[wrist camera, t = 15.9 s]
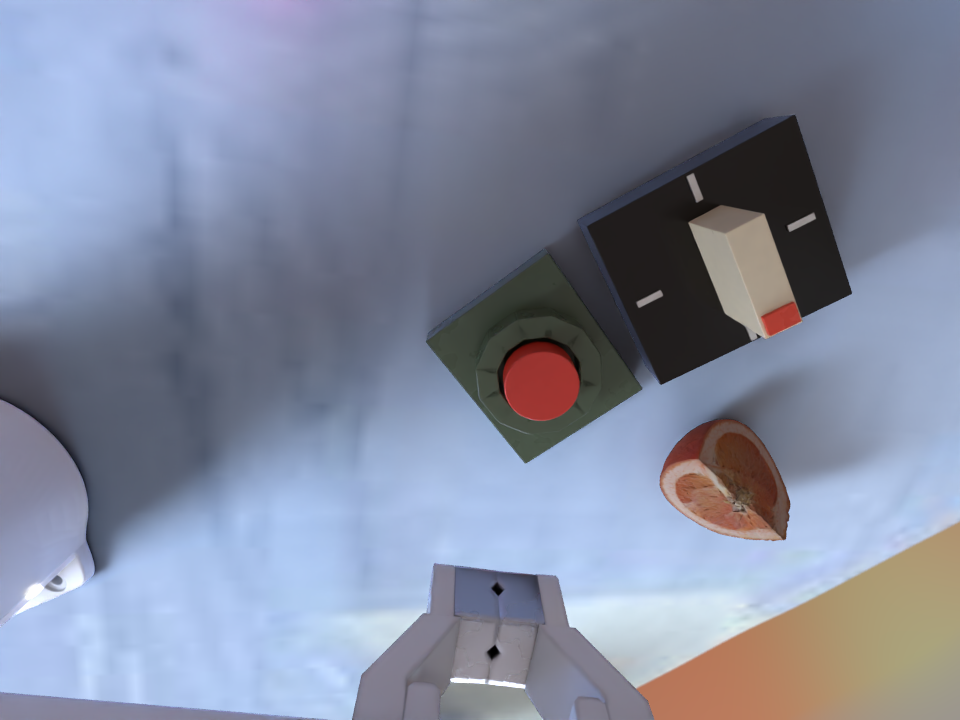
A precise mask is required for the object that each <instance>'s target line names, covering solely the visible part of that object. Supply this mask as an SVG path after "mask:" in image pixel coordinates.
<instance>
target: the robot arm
mask: <svg viewBox="0 0 960 720" xmlns="http://www.w3.org/2000/svg"><path fill="white" fill-rule="evenodd" d="M88 510H89V509H88V497H87V492H86V488H85V485H84V481H83V479H82V476H81V474H80V472H79V470H78V468H77V466H76V464H75V462H74V461H73V459H72V458H71V456H70V455H69V453H68V452H67V451H66V449H65V448H64V447H63V445H62V444H61V443H60V442H59V441H58V440H57V439H56V438H55V437H54V435H53V434H52V433H50V432H49V431H48V430H47V429H46V428H45V427H44V426H43V425H41V424H40V423H39V422H38V421H36V420H35V419H34V418H32V417H31V416H30V415H28V414H27V413H25V412H24V411H22V410H20V409H19V408H17V407H15V406H13V405H11V404H9V403H8V402H5V401H3V400H1V399H0V628H1V627H2V626H3V625H4V624H5V623H6V622H7V621H8V620H9V619H10V618H11V617H12V616H14V615H16V614H19V613H21V612H23V611H26V610H28V609H30V608H33V607H35V606H37V605H39V604H42V603H44V602H46V601H49V600H51V599H53V598H56V597H58V596H60V595H63V594H65V593H67V592H70V591H72V590H74V589H77V588H79V587H80V586H82V585H83V584H84V583H85V582H87V581H88V580H89V579H90V578H91V577H92V576H93V575H94V572H95V565H94V561H93V557H92V555H91V552H90V549H89V547H88V544H87V541H86V528H87V521H88ZM450 682H464V683H481V684H492V685H501V686H509V687H518V688H525V689H524V691H525V692H526V694H527V695H528V697H529V698H530V700H531V701H532V703H533V704H534V706H535V708H536V709H537V711H538V712H539V714H540V715H541V717H542V718H543V720H654V718H653V715H652V712H651V709H650V706H649V703H648V701H647V700H646V699H645V698H644V697H643V696H642V695H641V694H640V693H639V692H638V691H637V690H636V689H635V688H634V687H633V686H632V685H631V684H630V683H629V682H628V681H627V680H626V679H625V678H624V677H623V676H622V675H621V674H620V672H619V671H618V670H617V669H616V668H615V667H614V666H613V665H612V664H611V663H610V662H609V661H608V660H607V659H606V658H605V657H604V656H603V655H602V654H601V653H600V652H599V651H598V650H597V649H596V648H595V647H594V646H593V645H592V644H591V643H590V642H589V641H588V640H587V639H586V638H585V637H584V636H583V635H582V634H581V633H580V632H579V631H578V630H577V629H576V628H571V627H569V624H568V619H567V615H566V611H565V606H564V602H563V598H562V593H561V589H560V585H559V580H558V578H557V577H556V576H553V575H540V574H536V575H533V574H523V573H513V572H503V571H494V570H487V569H479V568H471V567H463V566H455V567H454V566H453V565H445V564H436V563H434V566H433V571H432V578H431V585H430V591H429V598H428V605H427V613H423V614H422V615H421V616H420V617H419V618H418V619H417V620H416V621H415V622H414V623H413V624H412V625H411V626H410V627H409V628H408V629H407V630H406V631H405V632H404V633H403V634H402V635H401V636H400V637H399V638H398V639H397V640H396V641H395V642H394V643H393V644H392V645H391V646H390V647H389V648H388V649H387V650H386V651H385V652H384V653H383V654H382V655H381V656H380V657H379V658H378V659H377V660H376V661H375V662H374V663H373V664H372V665H371V666H370V667H369V668H368V669H367V670H366V671H365V672H364V673H363V674H362V675H361V680H360V685H359V689H358V694H357V699H356V704H355V708H354V713H353V718H352V720H440V698H441V696H442V695H443V693H444V692H445V690H446V689H447V687H448V686H449V684H450ZM0 720H326V719H314V718H302V717H290V716H278V715H266V714H254V713H242V712H230V711H218V710H206V709H195V708H183V707H171V706H159V705H147V704H135V703H123V702H111V701H99V700H87V699H75V698H63V697H51V696H39V695H28V694H16V693H4V692H0Z"/></svg>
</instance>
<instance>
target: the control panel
mask: <svg viewBox="0 0 960 720" xmlns="http://www.w3.org/2000/svg"><path fill="white" fill-rule="evenodd" d="M720 205H723V206H728V207H733V208H738V209H743V210H748V211H753V212H758V213H763V214H765V217H766V220H767V223H768V225H769V228H770V231H771V234H772V237H773V239H774V242H775V245H776V248H777V251H778V253H779V256H780V259H781V262H782V265H783V267H784V270H785V273H786V276H787V279H788V281H789V284H790V287H791V290H792V293H793V295H794V298H795V301H796V304H797V307H798V309H799V312H800V315H801V318H802V317H805V316H807V315H809V314H811V313H813V312H815V311H817V310H819V309H821V308H823V307H826V306H828V305H830V304H832V303H834V302H836V301H838V300H840V299H842V298H844V297H847V296H849V295H851V294H852V291H851V288H850V285H849V282H848V279H847V276H846V272H845V269H844V266H843V263H842V260H841V257H840V254H839V250H838V247H837V244H836V241H835V238H834V235H833V232H832V228H831V225H830V222H829V219H828V216H827V213H826V210H825V206H824V203H823V200H822V197H821V194H820V191H819V188H818V184H817V181H816V178H815V175H814V172H813V169H812V166H811V163H810V159H809V156H808V153H807V150H806V147H805V144H804V141H803V137H802V134H801V131H800V128H799V125H798V122H797V119H796V116H795V115H789V116H781V117H773V118H766V119H763V120H761V121H759V122H757V123H756V124H754V125H752V126H750V127H748V128H746V129H745V130H743V131H741V132H739V133H737V134H735V135H733V136H732V137H730V138H728V139H726V140H724V141H722V142H721V143H719V144H717V145H715V146H713V147H711V148H709V149H708V150H706V151H704V152H702V153H700V154H698V155H696V156H695V157H693V158H691V159H689V160H687V161H685V162H684V163H682V164H680V165H678V166H676V167H674V168H672V169H671V170H669V171H667V172H665V173H663V174H661V175H660V176H658V177H656V178H654V179H652V180H650V181H648V182H647V183H645V184H643V185H641V186H639V187H637V188H635V189H634V190H632V191H630V192H628V193H626V194H624V195H623V196H621V197H619V198H617V199H615V200H613V201H611V202H610V203H608V204H606V205H604V206H602V207H600V208H599V209H597V210H595V211H593V212H591V213H589V214H587V215H586V216H584V217H582V218H580V219H578V220H577V222H578V224H579V226H580V228H581V230H582V232H583V234H584V237H585V239H586V241H587V243H588V245H589V247H590V249H591V251H592V253H593V256H594V258H595V260H596V262H597V264H598V266H599V268H600V270H601V273H602V275H603V277H604V279H605V281H606V283H607V285H608V287H609V290H610V292H611V294H612V296H613V298H614V300H615V302H616V304H617V307H618V309H619V311H620V313H621V315H622V317H623V319H624V321H625V323H626V326H627V328H628V330H629V332H630V334H631V336H632V338H633V340H634V343H635V345H636V347H637V349H638V351H639V353H640V355H641V357H642V360H643V362H644V364H645V366H646V367H647V368H648V370H649V371H650V372H651V373H652V375H653V376H654V377H655V378H656V380H657V381H658V382H659V383H660V384H661V385H662V384H664V383H666V382H668V381H670V380H672V379H674V378H676V377H679V376H681V375H683V374H685V373H687V372H689V371H691V370H693V369H695V368H697V367H700V366H702V365H704V364H706V363H708V362H710V361H712V360H714V359H716V358H718V357H721V356H723V355H725V354H727V353H729V352H731V351H733V350H735V349H737V348H739V347H742V346H744V345H746V344H748V343H750V342H752V341H754V340H756V339H758V338H760V337H761V336H760V335H758V334H756V333H755V332H753V331H752V330H750V329H749V328H747V327H745V326H744V325H742V324H741V323H739V322H738V321H736V320H734V319H733V318H731V317H730V316H728V315H726V314H725V312H724V310H723V307H722V305H721V302H720V300H719V297H718V295H717V292H716V290H715V287H714V285H713V283H712V280H711V278H710V275H709V273H708V270H707V268H706V265H705V263H704V260H703V258H702V255H701V253H700V250H699V248H698V245H697V243H696V241H695V238H694V236H693V233H692V231H691V228H690V226H689V223H688V222H689V221H691V220H693V219H695V218H697V217H699V216H701V215H703V214H705V213H707V212H709V211H711V210H712V209H714V208H716V207H718V206H720Z"/></svg>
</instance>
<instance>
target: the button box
mask: <svg viewBox="0 0 960 720" xmlns="http://www.w3.org/2000/svg"><path fill="white" fill-rule="evenodd" d="M538 341H542V342H549V343H553V344H555V345H557V346H559V347H561V348H562V349H563V350H564V351H566V353H567V354H568V355H569V356H570V358H571V360H572V362H573V364H574V366H575V368H576V370H577V373H578V376H579V381H580V388H579V393H578V396H577V399H576V401H575V402H574V404H573V405H572V406H571V408H570V409H569V410H568V411H566V412H565V413H564V414H562V415H561V416H559V417H556V418H554V419H551V420H545V421H536V420H531V419H528V418H525V417H523V416H521V415H519V414H518V413H517V412H515V411H514V410H513V409H512V408H511V406H510V405H509V403H508V401H507V399H506V396H505V391H504V383H503V370H504V366H505V364H506V361H507V360H508V358H509V357H510V355H511V354H512V353H513V352H514V351H515V350H517V349H518V348H519V347H521V346H523V345H525V344H528V343H531V342H538ZM426 343H427V344H428V345H429V347H430V348H431V349H432V350H433V351H434V353H435V354H436V355H437V356H438V358H439V359H440V360H441V361H442V362H443V364H444V365H445V366H446V367H447V369H448V370H449V371H450V372H451V373H452V375H453V376H454V377H455V378H456V380H457V381H458V382H459V383H460V384H461V386H462V387H463V388H464V389H465V391H466V392H467V393H468V394H469V396H470V397H471V398H472V399H473V400H474V402H475V403H476V404H477V405H478V407H479V408H480V409H481V410H482V411H483V413H484V414H485V415H486V416H487V418H488V419H489V420H490V421H491V422H492V424H493V425H494V426H495V427H496V429H497V430H498V431H499V432H500V433H501V435H502V436H503V437H504V438H505V440H506V441H507V442H508V443H509V445H510V446H511V447H512V448H513V449H514V451H515V452H516V453H517V454H518V456H519V457H520V458H521V459H522V460H523V462H524V463H525V464H526V463H528V462H529V461H531V460H532V459H534V458H535V457H537V456H539V455H540V454H542V453H543V452H545V451H546V450H548V449H550V448H551V447H553V446H554V445H556V444H557V443H559V442H561V441H562V440H564V439H565V438H567V437H568V436H570V435H572V434H573V433H575V432H576V431H578V430H579V429H581V428H582V427H584V426H586V425H587V424H589V423H590V422H592V421H593V420H595V419H597V418H598V417H600V416H601V415H603V414H604V413H606V412H608V411H609V410H611V409H612V408H614V407H615V406H617V405H619V404H620V403H622V402H623V401H625V400H626V399H628V398H630V397H631V396H633V395H634V394H636V393H637V392H639V391H640V390H642V387H641V385H640V384H639V382H638V381H637V380H636V378H635V377H634V375H633V374H632V372H631V371H630V369H629V368H628V367H627V365H626V364H625V362H624V361H623V359H622V358H621V356H620V355H619V354H618V352H617V351H616V349H615V348H614V346H613V345H612V344H611V342H610V341H609V339H608V338H607V336H606V335H605V333H604V332H603V331H602V329H601V328H600V326H599V325H598V323H597V322H596V321H595V319H594V318H593V316H592V315H591V313H590V312H589V310H588V309H587V308H586V306H585V305H584V303H583V302H582V300H581V299H580V297H579V296H578V295H577V293H576V292H575V290H574V289H573V287H572V286H571V285H570V283H569V282H568V280H567V279H566V277H565V276H564V274H563V273H562V272H561V270H560V269H559V267H558V266H557V264H556V263H555V262H554V260H553V259H552V257H551V256H550V254H549V253H548V252H547V250H546V249H543V250H542V251H540V252H539V253H538V254H536V255H535V256H534V257H532V258H531V259H529V260H528V261H527V262H525V263H524V264H523V265H521V266H520V267H518V268H517V269H516V270H514V271H513V272H512V273H510V274H509V275H507V276H506V277H505V278H503V279H502V280H500V281H499V282H498V283H496V284H495V285H494V286H492V287H491V288H489V289H488V290H487V291H485V292H484V293H483V294H481V295H480V296H478V297H477V298H476V299H474V300H473V301H472V302H470V303H469V304H467V305H466V306H465V307H463V308H462V309H461V310H459V311H458V312H456V313H455V314H454V315H452V316H451V317H450V318H448V319H447V320H445V321H444V322H443V323H441V324H440V325H439V326H437V327H436V328H434V329H433V330H432V331H430V332H429V333H428V336H427V340H426Z"/></svg>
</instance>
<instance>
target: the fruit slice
mask: <svg viewBox="0 0 960 720" xmlns="http://www.w3.org/2000/svg"><path fill="white" fill-rule="evenodd" d="M660 488H661V490H662V492H663V494H664V496H665V498H666V499H667V500H668V501H669V502H670V503H671V504H672V505H673V506H674V507H675V508H676V509H677V510H678V511H680V512H681V513H682V514H684V515H685V516H686V517H688V518H690V519H691V520H693V521H695V522H696V523H698V524H699V525H701V526H703V527H705V528H707V529H709V530H711V531H714V532H716V533H719V534H722V535H727V536H732V537H738V538H744V539H752V540H772V541H776V540H785V539H786V530H787V527H788V524H787V522H788V521H789V516H790V515H789V514H788V512H789V509H790V500H789V497H788V494H787V492H786V487H785V485H784V483H783V480H782V478H781V475H780V473H779V471H778V469H777V467H776V465H775V462H774V461H773V459H772V457H771V455H770V454H769V452H768V450H767V449H766V447H765V445H764V444H763V443H762V441H761V440H760V439H759V438H758V437H757V435H756V434H755V433H754V432H753V431H752V430H751V429H750V428H749V427H747V426H746V425H745V424H743V423H741V422H739V421H736V420H731V419H720V420H714V421H710V422H707V423H703V424H701V425H700V426H698V427H696V428H695V429H693V430H691V431H690V432H689V433H687V434H686V435H685V436H684V437H683V438H682V439H681V440H680V441H679V442H678V443H677V444H676V445H675V447H674V448H673V450H672V451H671V452H670V454H669V456H668V457H667V459H666V461H665V463H664V466H663V470H662V473H661V476H660Z"/></svg>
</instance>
